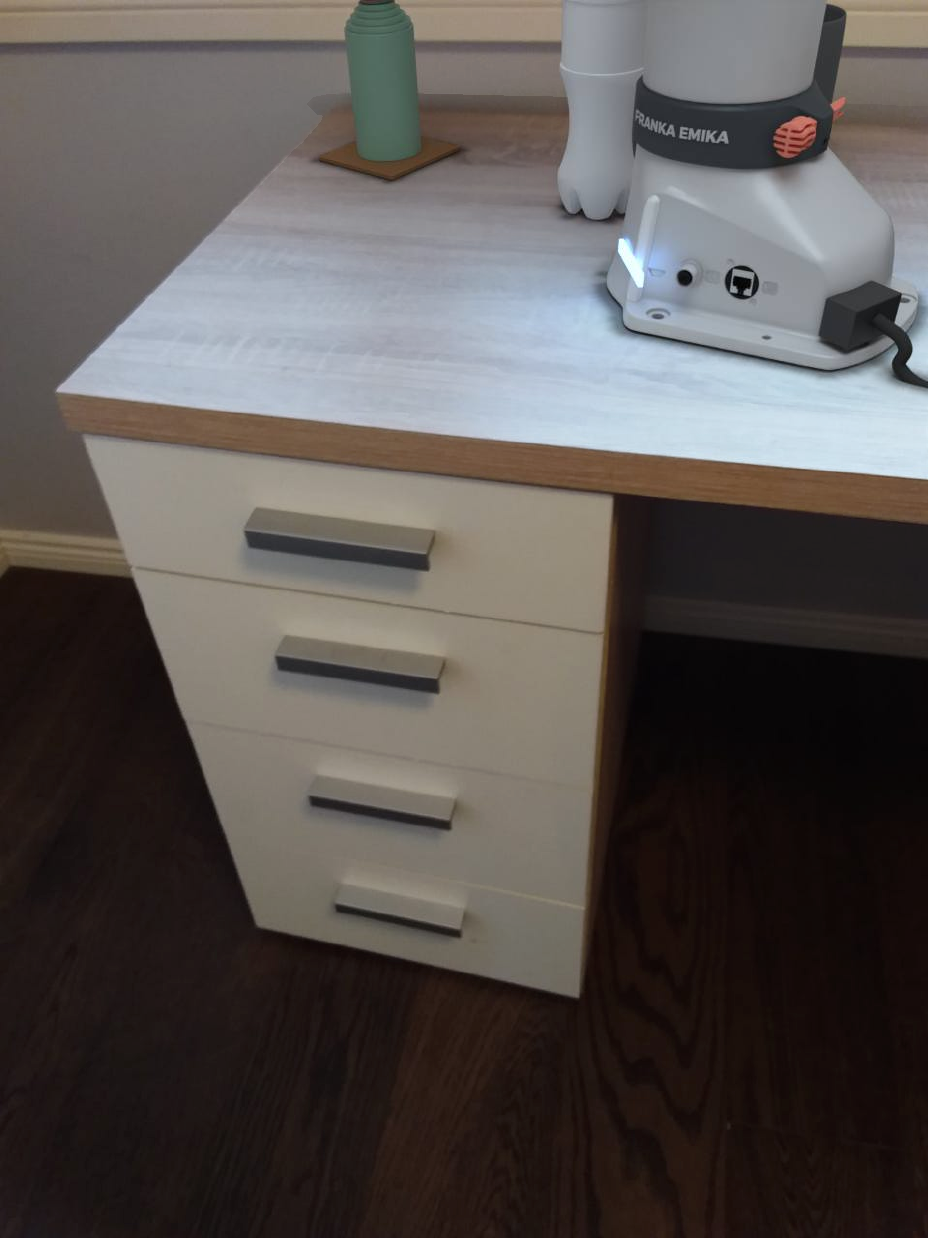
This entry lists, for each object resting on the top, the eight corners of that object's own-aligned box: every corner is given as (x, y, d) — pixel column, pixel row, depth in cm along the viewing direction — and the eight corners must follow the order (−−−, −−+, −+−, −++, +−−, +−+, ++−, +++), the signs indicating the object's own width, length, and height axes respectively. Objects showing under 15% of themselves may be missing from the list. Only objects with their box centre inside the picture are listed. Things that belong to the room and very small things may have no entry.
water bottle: (638, 192, 91) (663, -156, 74) (640, 224, 86) (668, -143, 69) (557, 193, 92) (564, -152, 75) (555, 224, 87) (562, -139, 70)
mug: (839, 151, 97) (867, 7, 88) (790, 180, 92) (815, 30, 84) (715, 125, 104) (731, -11, 95) (664, 150, 99) (676, 9, 91)
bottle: (434, 147, 101) (424, -31, 91) (391, 166, 98) (375, -17, 87) (388, 135, 104) (373, -38, 94) (344, 153, 101) (323, -25, 91)
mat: (460, 149, 101) (460, 145, 101) (392, 180, 96) (392, 175, 96) (387, 132, 106) (387, 128, 106) (319, 160, 101) (318, 156, 101)
